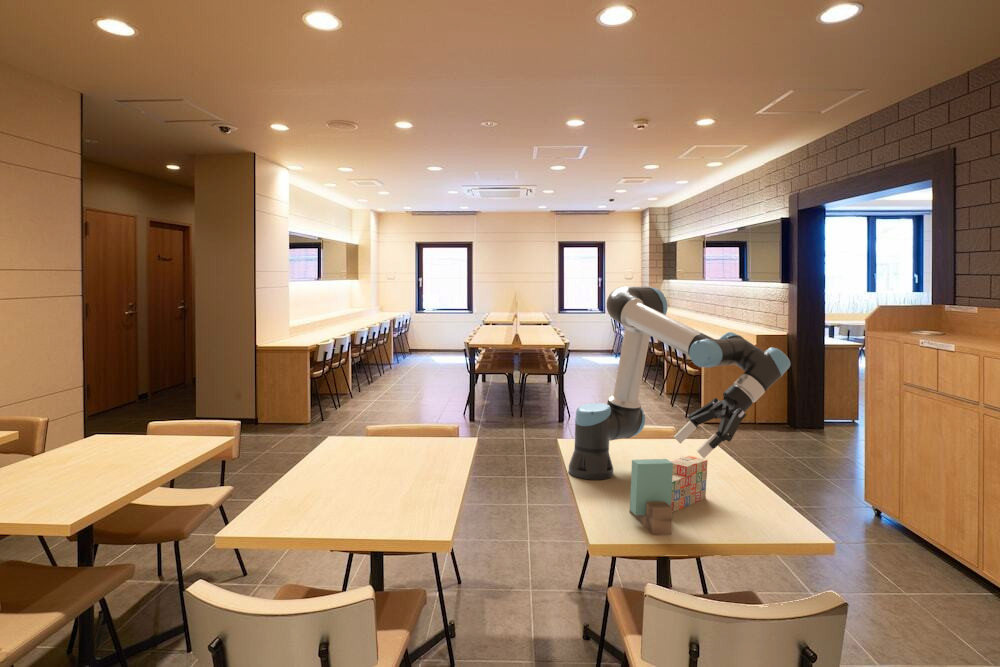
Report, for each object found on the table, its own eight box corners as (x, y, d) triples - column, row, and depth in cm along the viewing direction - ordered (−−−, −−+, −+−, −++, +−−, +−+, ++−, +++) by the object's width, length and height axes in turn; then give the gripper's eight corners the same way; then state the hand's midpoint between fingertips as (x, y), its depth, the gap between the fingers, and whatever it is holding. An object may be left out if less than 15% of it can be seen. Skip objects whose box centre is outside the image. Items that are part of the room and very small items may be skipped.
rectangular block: (629, 509, 168) (632, 459, 167) (664, 508, 170) (666, 458, 169) (635, 515, 164) (637, 464, 163) (670, 513, 166) (673, 463, 165)
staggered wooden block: (629, 512, 175) (630, 488, 174) (646, 511, 176) (647, 487, 175) (653, 535, 159) (654, 508, 159) (671, 534, 160) (672, 507, 159)
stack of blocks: (667, 514, 174) (669, 472, 173) (648, 508, 178) (650, 467, 178) (705, 498, 188) (708, 459, 187) (687, 493, 193) (689, 454, 192)
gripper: (711, 376, 182) (660, 425, 181) (761, 393, 157) (702, 451, 156) (726, 393, 183) (676, 443, 182) (778, 413, 159) (720, 471, 158)
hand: (688, 447), depth 169 cm, fingers open, 13 cm apart
